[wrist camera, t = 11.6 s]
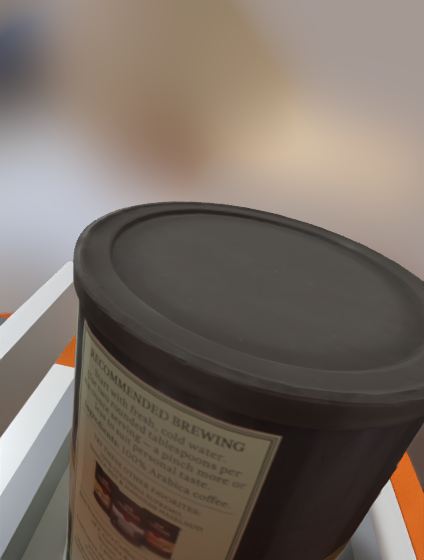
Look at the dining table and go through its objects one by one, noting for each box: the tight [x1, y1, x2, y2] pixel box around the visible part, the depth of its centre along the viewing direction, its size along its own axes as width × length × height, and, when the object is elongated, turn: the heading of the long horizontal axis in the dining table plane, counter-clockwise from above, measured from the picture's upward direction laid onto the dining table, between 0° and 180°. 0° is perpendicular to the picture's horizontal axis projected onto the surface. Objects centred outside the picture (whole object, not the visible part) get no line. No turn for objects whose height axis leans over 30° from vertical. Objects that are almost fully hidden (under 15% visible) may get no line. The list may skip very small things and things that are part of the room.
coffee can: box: [63, 202, 424, 560], centre depth 14 cm, size 10×10×14 cm
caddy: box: [0, 364, 417, 560], centre depth 17 cm, size 22×18×3 cm
